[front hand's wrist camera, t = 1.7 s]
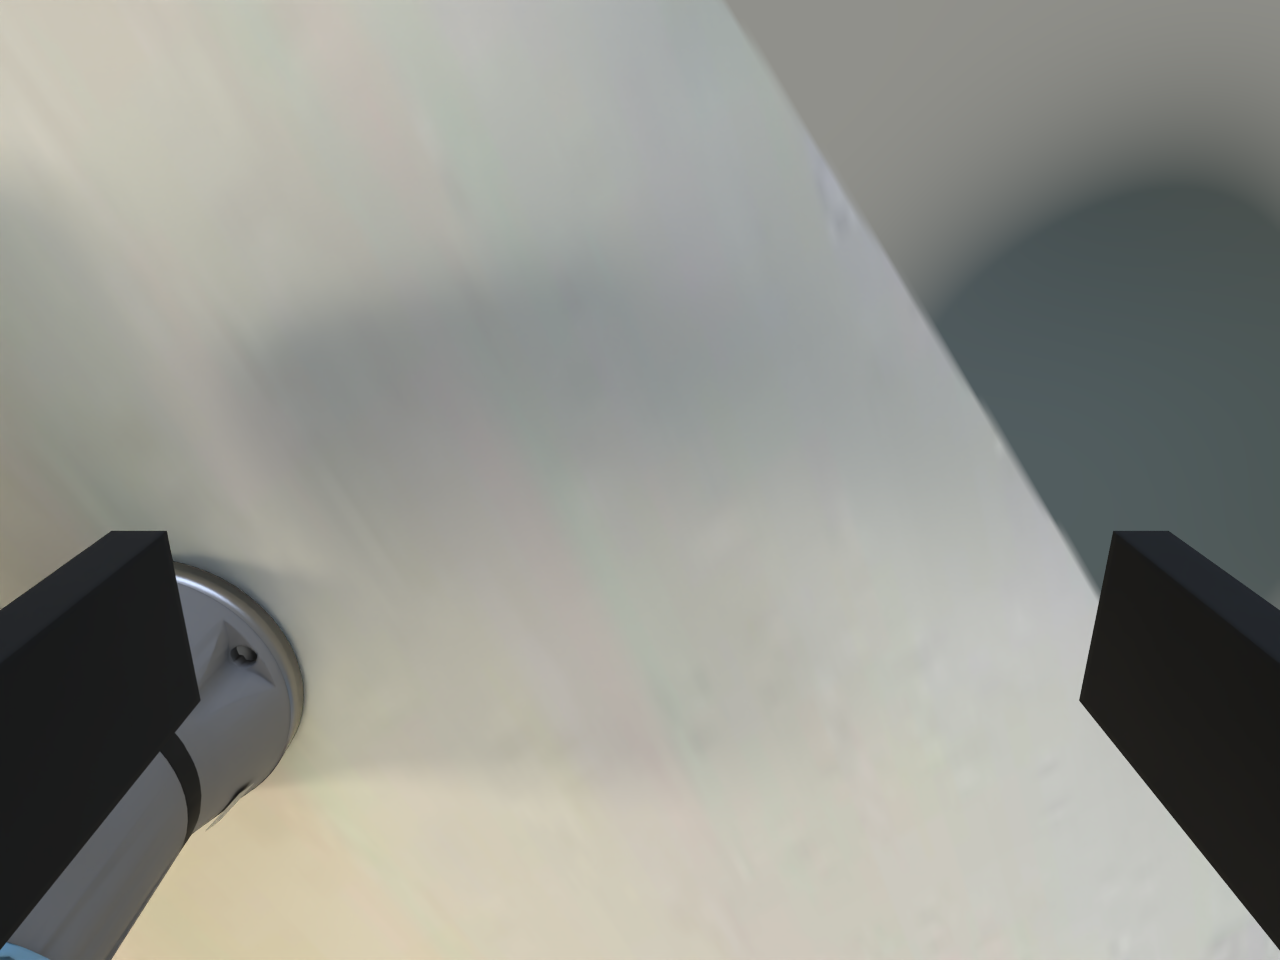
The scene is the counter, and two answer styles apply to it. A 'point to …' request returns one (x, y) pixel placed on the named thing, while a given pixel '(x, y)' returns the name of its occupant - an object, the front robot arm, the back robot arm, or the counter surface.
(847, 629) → the counter surface
